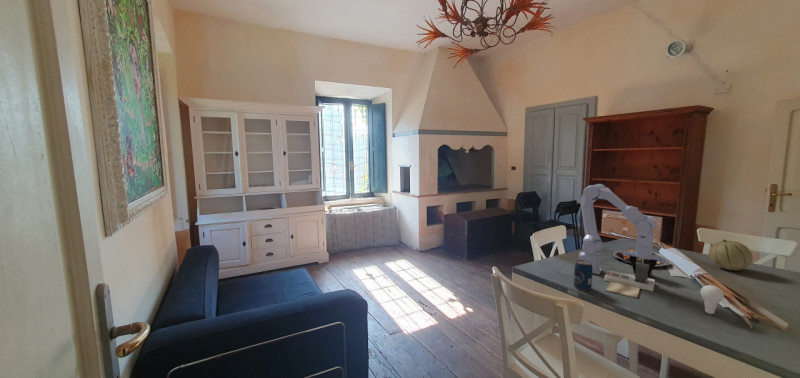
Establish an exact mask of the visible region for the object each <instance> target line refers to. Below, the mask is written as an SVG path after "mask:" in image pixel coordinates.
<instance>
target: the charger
mask: <svg viewBox="0 0 800 378" xmlns="http://www.w3.org/2000/svg"><path fill="white" fill-rule="evenodd" d="M648 272H649V265H648V264H642V263H637V264H636V268H635V273H634V275H635V277H636V281H635V282H640V283H645V284H646V279H648Z"/></svg>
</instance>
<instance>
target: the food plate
mask: <svg viewBox="0 0 800 378" xmlns="http://www.w3.org/2000/svg"><path fill="white" fill-rule="evenodd" d="M624 251H630V252H636V250H634V249H633V248H632V247H631V248H628V249H618V250H617V249H616V250H614V251H613V252H611V255H612V256H614V258H617V259H620V261H623V262H624V263H628V264H631V262H630V260H629V258H630V256H623V253H624ZM655 255H656V256H659V257H662V256H661V255H658V254H655ZM637 263H641V258H637V261H636V264H637ZM669 265H671V261H670V260H669V259H667V258H665V259H664V263H661V262H658V261H657V264H656V265H655V267H664V266H669Z"/></svg>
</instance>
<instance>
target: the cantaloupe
mask: <svg viewBox="0 0 800 378" xmlns="http://www.w3.org/2000/svg"><path fill="white" fill-rule="evenodd" d="M709 257H710V259H711V261H712V262H713V263H714V264H715V265H716V266H718V267H719V268H722V269H723V270H728V271H729V270H730V271H741V270H744V269H747V268H748V267H749V266H750V265H751V264H752V262H753V254H752V251H751V250H750V249H749V247H747V246H746V245H744V244H743V243H741V242H739V241H735V240H726V239H722V241H718V242H716V243H714V244H713V245H712V246H711V247H710V249H709Z"/></svg>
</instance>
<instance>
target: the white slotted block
mask: <svg viewBox="0 0 800 378" xmlns="http://www.w3.org/2000/svg"><path fill="white" fill-rule="evenodd" d="M603 281H604V282H605V281H606V282H609V283H610V281H611V282H615V283H620V284H624V285H629V286H633V287H638V288H640V290H645V291H650V292H654V288H655V281H656V279H653V278H651V277H649V278H648V279H646V284H645V283H640V282H636V277H635V274H634V275H633V274H629V273H625V272H621V271H615V270H607V271H606V273H605V275H604V276H603Z"/></svg>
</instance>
